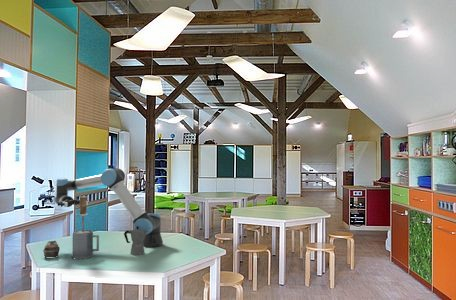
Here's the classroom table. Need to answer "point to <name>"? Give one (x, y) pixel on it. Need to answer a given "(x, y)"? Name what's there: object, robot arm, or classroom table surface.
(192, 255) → the classroom table surface
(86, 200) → the robot arm
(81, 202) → the plunger
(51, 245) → the cupcake
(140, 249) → the coffeepot
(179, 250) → the classroom table surface
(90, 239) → the press carafe
